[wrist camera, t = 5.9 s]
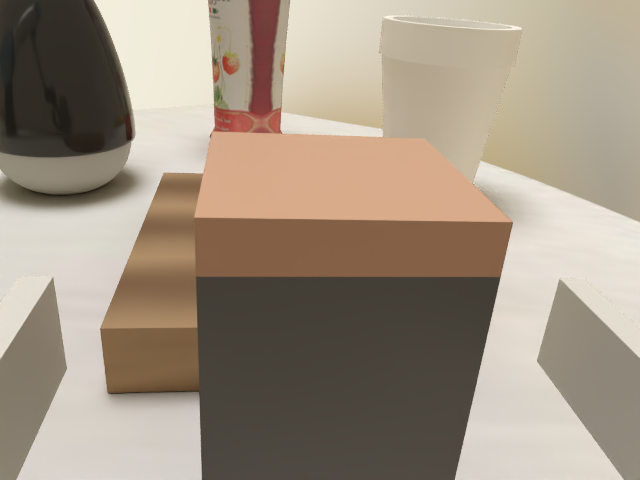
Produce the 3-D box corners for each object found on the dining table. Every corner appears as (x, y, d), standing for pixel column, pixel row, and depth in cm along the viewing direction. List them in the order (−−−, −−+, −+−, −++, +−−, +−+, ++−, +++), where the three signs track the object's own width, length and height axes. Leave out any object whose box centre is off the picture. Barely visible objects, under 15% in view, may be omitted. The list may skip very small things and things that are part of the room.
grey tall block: (412, 664, 14) (512, 222, 9) (208, 683, 14) (193, 217, 8) (372, 497, 19) (424, 139, 14) (217, 505, 18) (212, 131, 13)
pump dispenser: (166, 173, 46) (155, -35, 40) (78, 218, 37) (46, -42, 31) (61, 154, 49) (35, -43, 42) (-45, 192, 40) (-97, -52, 33)
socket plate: (451, 384, 24) (463, 324, 23) (107, 392, 22) (100, 328, 21) (369, 218, 40) (373, 177, 39) (165, 215, 38) (163, 172, 37)
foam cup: (340, 189, 45) (355, 14, 40) (420, 172, 51) (443, 16, 45) (429, 232, 39) (462, 30, 33) (510, 208, 44) (550, 30, 39)
